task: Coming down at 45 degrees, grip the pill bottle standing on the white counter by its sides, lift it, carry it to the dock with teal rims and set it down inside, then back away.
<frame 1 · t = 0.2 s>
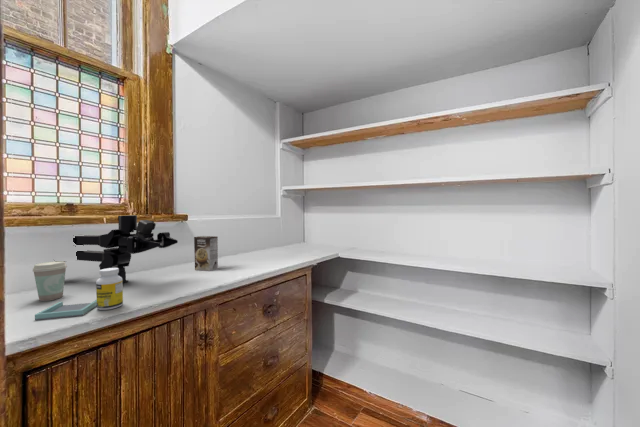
hand: (168, 243, 108), 17 cm above the countertop, tool horizontal, fingers open, 9 cm apart
coffee cup: (51, 298, 96), on the countertop
coffee box: (206, 269, 138), on the countertop
dock: (70, 310, 84), on the countertop
pill bottle: (110, 307, 87), on the countertop
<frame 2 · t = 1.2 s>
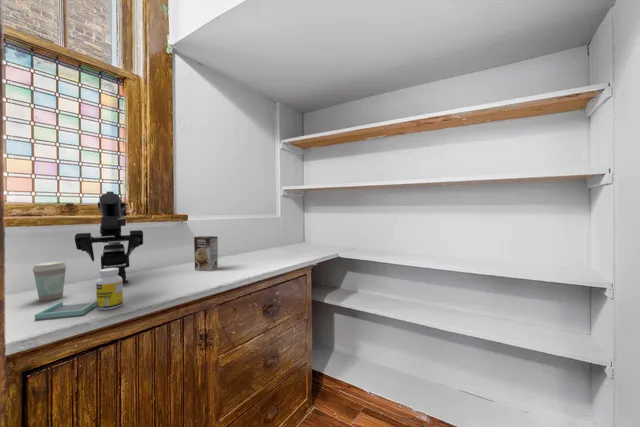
hand: (110, 258, 93), 14 cm above the countertop, tool tilted 45°, fingers open, 9 cm apart
nothing on the countertop moved.
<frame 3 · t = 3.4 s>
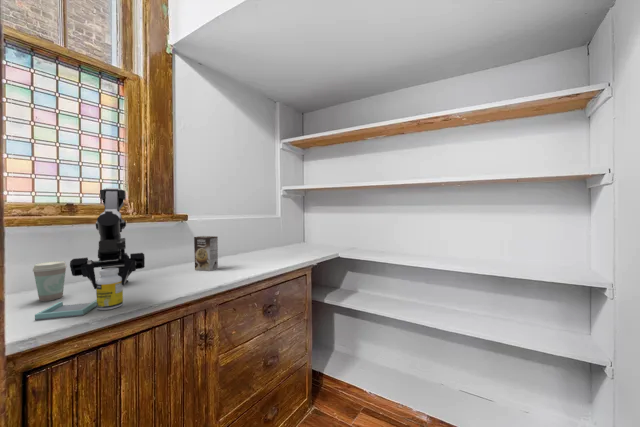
hand: (109, 286, 85), 7 cm above the countertop, tool tilted 45°, fingers closed on pill bottle, 6 cm apart
pill bottle: (110, 307, 87), on the countertop, touching gripper
everything else where it was.
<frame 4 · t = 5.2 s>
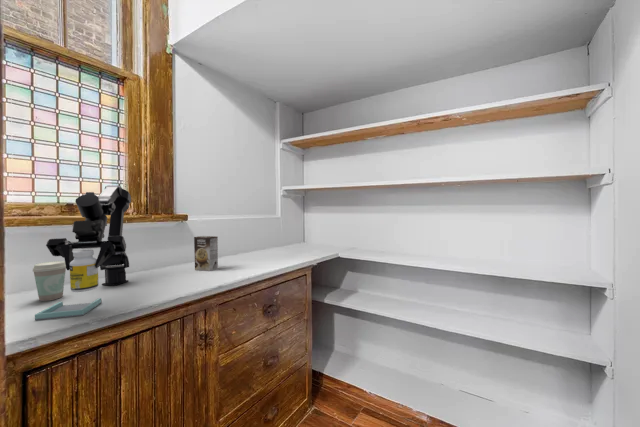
hand: (82, 268, 83), 13 cm above the countertop, tool tilted 45°, fingers closed on pill bottle, 6 cm apart
pill bottle: (85, 290, 84), point 6 cm above the countertop, touching gripper
everything else where it was.
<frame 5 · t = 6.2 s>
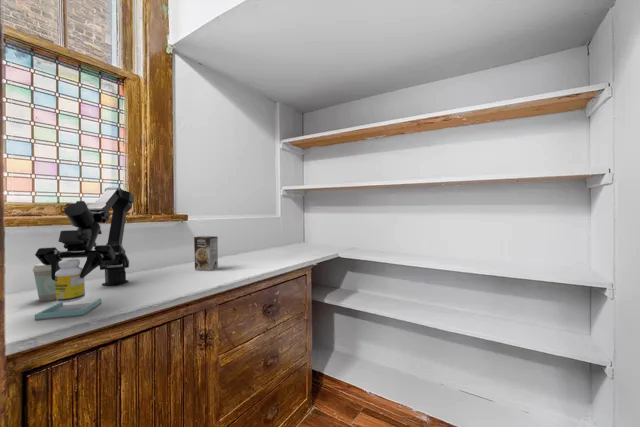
hand: (67, 278, 82), 10 cm above the countertop, tool tilted 45°, fingers closed on pill bottle, 6 cm apart
pill bottle: (71, 300, 84), point 3 cm above the countertop, touching gripper
everything else where it was.
when the fingers open (8 cm above the countertop, at t = 7.2 s): pill bottle stays where it is, resting on dock.
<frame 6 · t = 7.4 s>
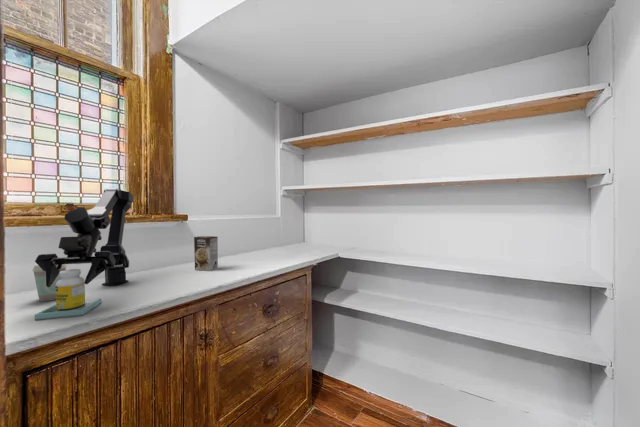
hand: (67, 285, 82), 8 cm above the countertop, tool tilted 45°, fingers open, 9 cm apart
pill bottle: (71, 310, 84), resting on dock
everything else where it was.
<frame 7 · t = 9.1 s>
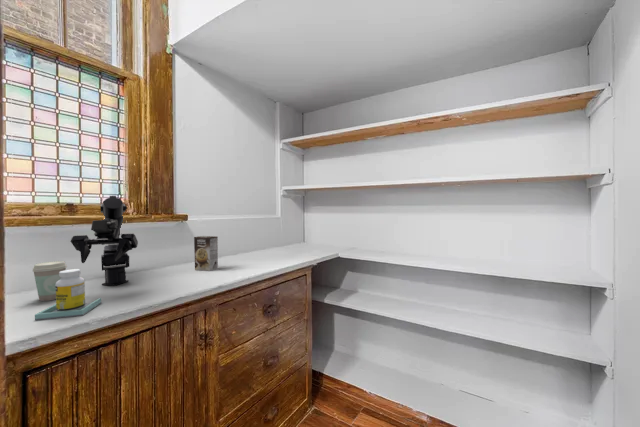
hand: (98, 261, 96), 12 cm above the countertop, tool tilted 45°, fingers open, 9 cm apart
nothing on the countertop moved.
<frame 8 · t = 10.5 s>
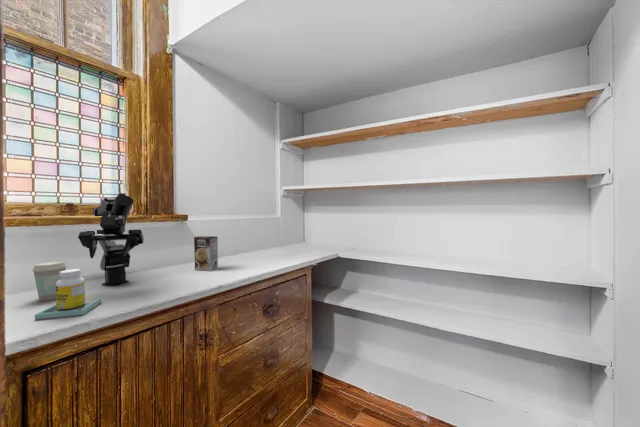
hand: (107, 256, 98), 14 cm above the countertop, tool tilted 45°, fingers open, 9 cm apart
nothing on the countertop moved.
at the end: pill bottle 0.2 cm from the dock (horizontally); pill bottle tilted 0°; the gripper is holding nothing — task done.
